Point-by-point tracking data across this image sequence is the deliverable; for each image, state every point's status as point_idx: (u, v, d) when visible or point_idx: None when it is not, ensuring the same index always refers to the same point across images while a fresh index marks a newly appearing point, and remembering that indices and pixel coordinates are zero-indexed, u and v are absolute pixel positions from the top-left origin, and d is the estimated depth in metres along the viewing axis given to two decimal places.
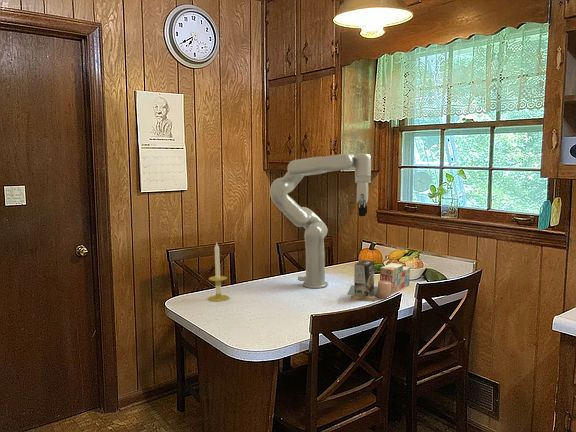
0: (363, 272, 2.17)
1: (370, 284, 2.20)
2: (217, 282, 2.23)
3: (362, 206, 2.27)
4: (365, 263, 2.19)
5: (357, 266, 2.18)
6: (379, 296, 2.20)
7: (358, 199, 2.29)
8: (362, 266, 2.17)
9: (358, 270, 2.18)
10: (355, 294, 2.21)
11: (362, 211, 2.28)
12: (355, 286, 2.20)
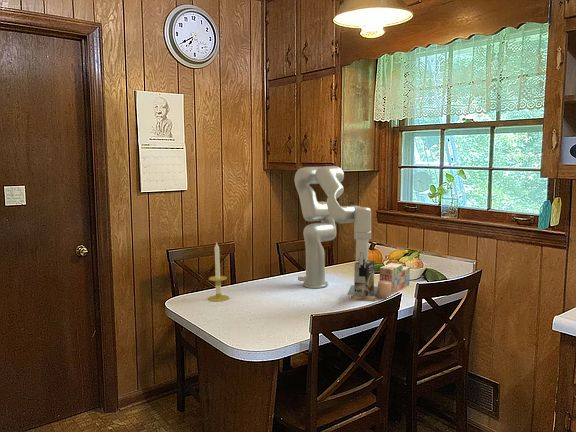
0: None
1: (370, 284, 2.20)
2: (217, 282, 2.23)
3: (362, 266, 2.12)
4: None
5: (357, 265, 2.19)
6: (379, 296, 2.20)
7: (357, 258, 2.09)
8: None
9: (358, 269, 2.19)
10: (355, 294, 2.21)
11: (363, 271, 2.13)
12: (355, 285, 2.20)
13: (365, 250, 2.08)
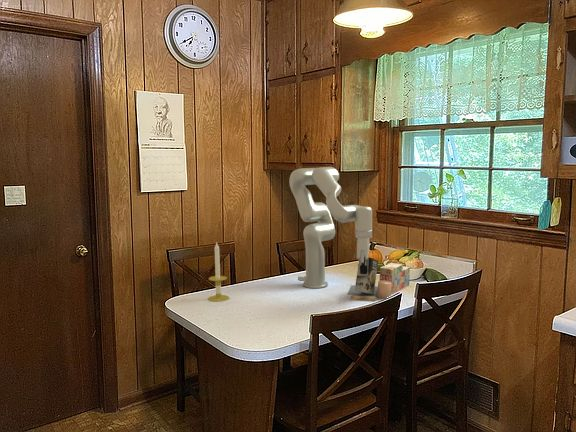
0: (367, 264, 2.21)
1: (371, 280, 2.22)
2: (217, 282, 2.23)
3: (363, 264, 2.17)
4: None
5: None
6: (379, 296, 2.20)
7: (358, 256, 2.14)
8: None
9: None
10: (356, 287, 2.21)
11: (363, 269, 2.18)
12: (357, 279, 2.22)
13: (366, 248, 2.13)
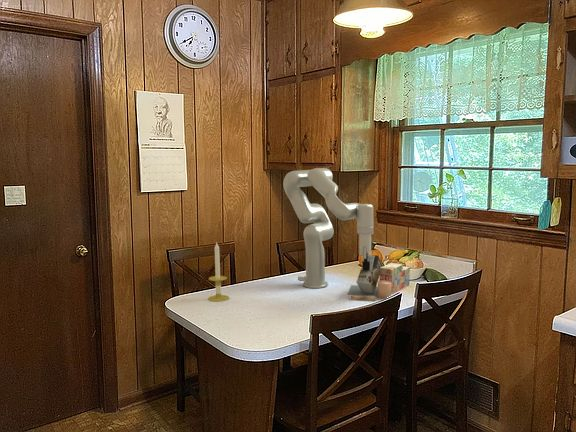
0: (372, 260, 2.27)
1: (374, 277, 2.25)
2: (217, 282, 2.23)
3: (366, 260, 2.22)
4: None
5: None
6: (379, 296, 2.20)
7: (361, 252, 2.19)
8: (373, 256, 2.29)
9: None
10: (358, 279, 2.23)
11: (366, 265, 2.23)
12: (360, 272, 2.25)
13: (368, 244, 2.18)
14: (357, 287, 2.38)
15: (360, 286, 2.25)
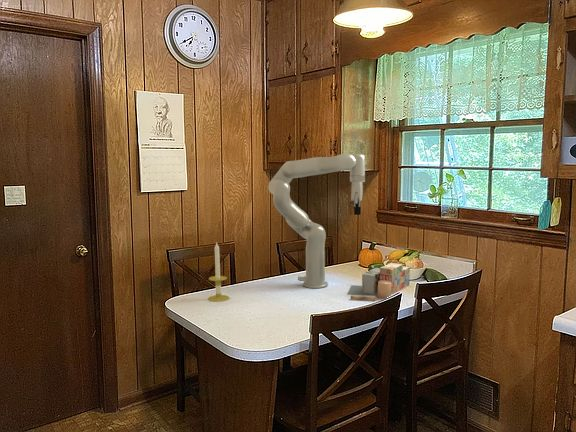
0: None
1: (379, 280, 2.30)
2: (217, 282, 2.23)
3: (357, 205, 2.45)
4: None
5: (377, 268, 2.40)
6: (379, 296, 2.20)
7: (352, 197, 2.42)
8: None
9: (377, 269, 2.38)
10: (364, 273, 2.29)
11: (357, 210, 2.46)
12: (368, 272, 2.32)
13: (359, 190, 2.41)
14: (357, 287, 2.38)
15: (364, 281, 2.28)
